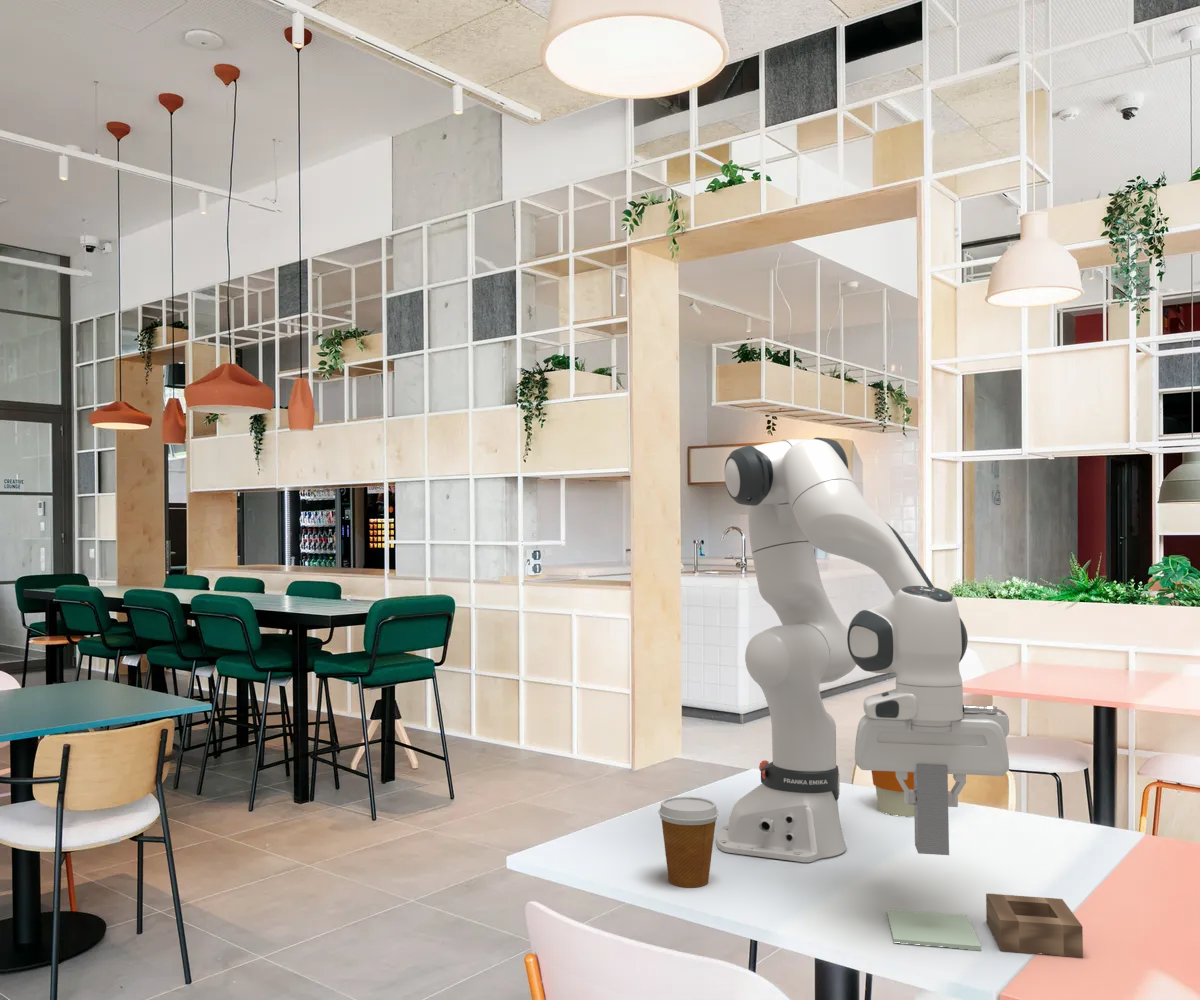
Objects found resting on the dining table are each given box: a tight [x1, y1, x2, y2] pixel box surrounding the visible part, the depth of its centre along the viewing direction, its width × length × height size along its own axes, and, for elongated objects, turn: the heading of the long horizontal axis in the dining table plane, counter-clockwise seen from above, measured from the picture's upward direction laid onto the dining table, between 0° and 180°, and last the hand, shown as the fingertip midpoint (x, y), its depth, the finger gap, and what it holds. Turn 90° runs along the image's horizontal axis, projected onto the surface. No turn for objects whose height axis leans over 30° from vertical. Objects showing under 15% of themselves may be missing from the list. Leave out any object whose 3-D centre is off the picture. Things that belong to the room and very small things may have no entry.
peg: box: [913, 764, 950, 856], centre depth 135 cm, size 4×4×12 cm
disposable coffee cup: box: [657, 796, 720, 888], centre depth 155 cm, size 10×10×12 cm
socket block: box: [985, 893, 1084, 959], centre depth 132 cm, size 10×10×4 cm
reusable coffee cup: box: [870, 770, 914, 817], centre depth 196 cm, size 13×12×15 cm
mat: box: [886, 908, 982, 952], centre depth 135 cm, size 11×11×1 cm
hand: (930, 804), depth 136 cm, fingers closed on peg, 4 cm apart
